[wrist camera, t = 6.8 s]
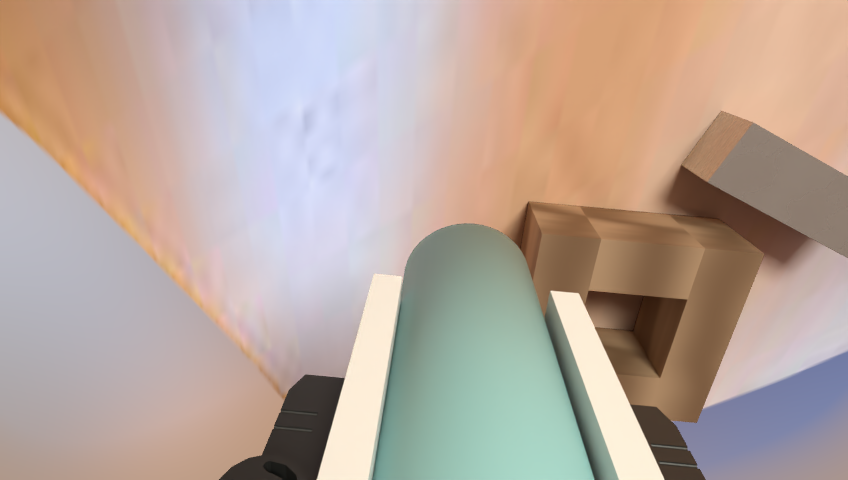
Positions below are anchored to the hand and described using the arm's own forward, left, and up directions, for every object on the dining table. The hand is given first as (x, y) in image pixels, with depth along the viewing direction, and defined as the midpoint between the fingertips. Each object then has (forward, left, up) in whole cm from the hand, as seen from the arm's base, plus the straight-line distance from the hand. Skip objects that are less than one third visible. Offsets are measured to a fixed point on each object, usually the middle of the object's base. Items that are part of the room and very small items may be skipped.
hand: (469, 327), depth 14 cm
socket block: (+11, -9, -19) cm, 23 cm away
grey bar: (+19, 0, -19) cm, 27 cm away
